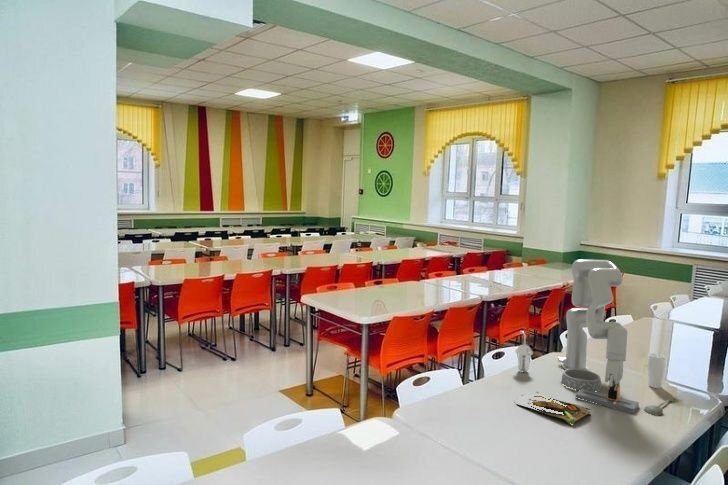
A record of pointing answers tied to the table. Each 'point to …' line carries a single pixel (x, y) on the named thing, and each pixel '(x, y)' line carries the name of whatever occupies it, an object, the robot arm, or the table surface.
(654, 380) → the drinking glass
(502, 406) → the table surface
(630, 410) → the fader console
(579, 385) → the dog bowl
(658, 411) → the soupspoon
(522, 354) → the cup with straw
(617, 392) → the fader knob
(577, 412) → the prepared meal
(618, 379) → the robot arm
